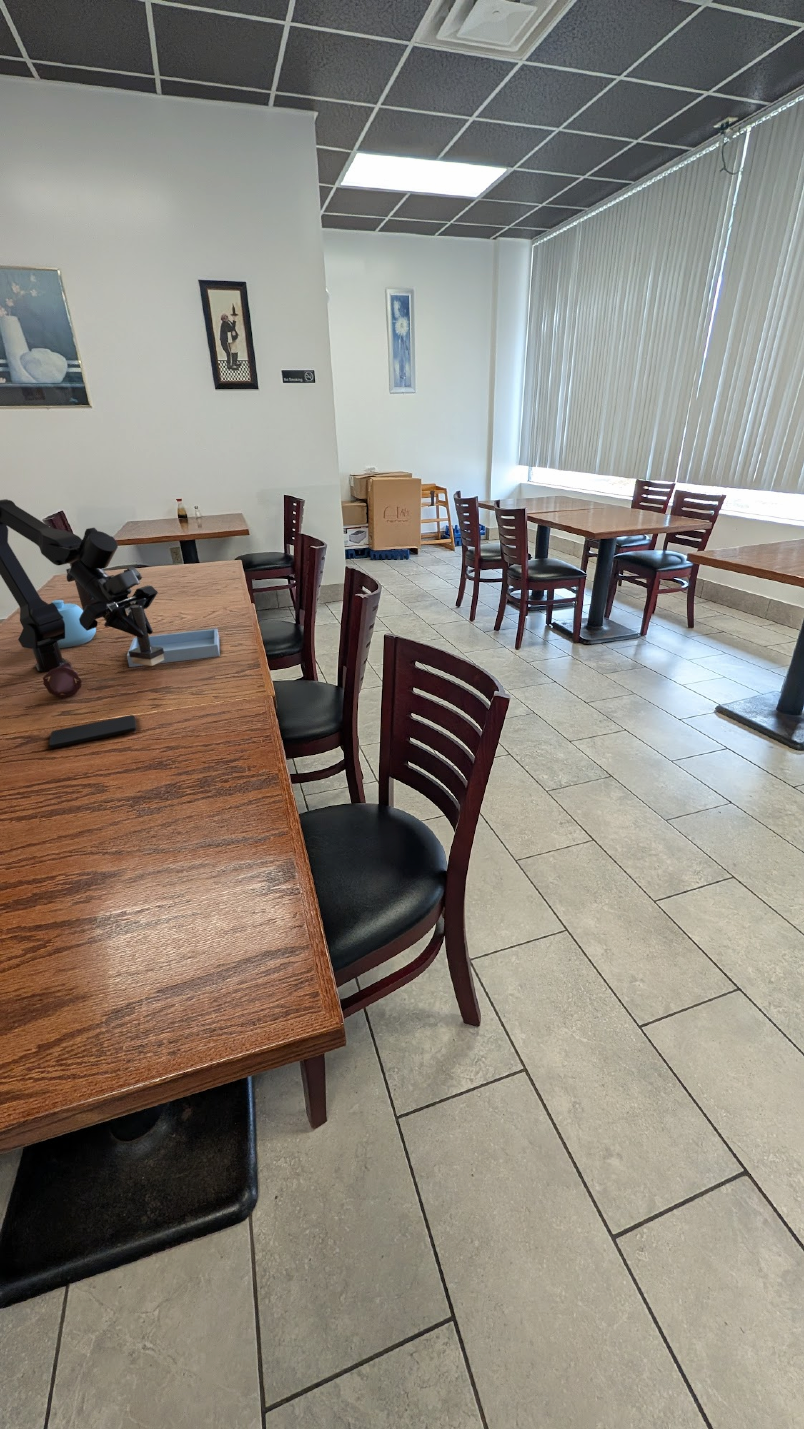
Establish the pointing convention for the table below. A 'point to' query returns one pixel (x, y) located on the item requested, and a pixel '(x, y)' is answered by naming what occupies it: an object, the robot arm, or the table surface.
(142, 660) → the brush
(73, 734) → the smartphone
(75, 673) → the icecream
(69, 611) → the sugar bowl
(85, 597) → the bottle
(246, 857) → the table surface
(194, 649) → the tray
